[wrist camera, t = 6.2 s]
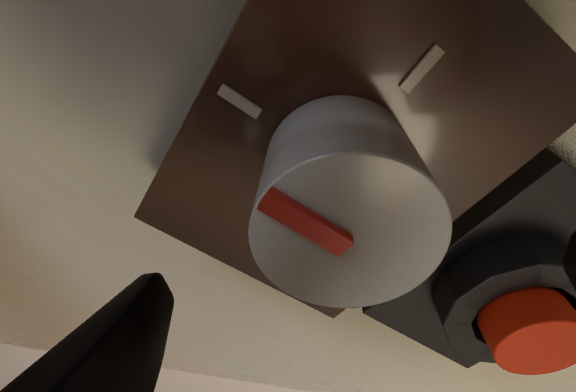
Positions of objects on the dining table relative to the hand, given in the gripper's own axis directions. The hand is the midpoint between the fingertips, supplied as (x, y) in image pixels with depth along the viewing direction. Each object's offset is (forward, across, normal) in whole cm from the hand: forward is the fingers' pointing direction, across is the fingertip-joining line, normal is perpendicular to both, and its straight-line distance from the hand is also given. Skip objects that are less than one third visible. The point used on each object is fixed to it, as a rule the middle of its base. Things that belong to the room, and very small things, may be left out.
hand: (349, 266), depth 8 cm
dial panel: (+8, 0, 0) cm, 8 cm away
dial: (+5, 0, 0) cm, 5 cm away
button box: (+8, -7, +8) cm, 13 cm away
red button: (+5, -7, +8) cm, 12 cm away
